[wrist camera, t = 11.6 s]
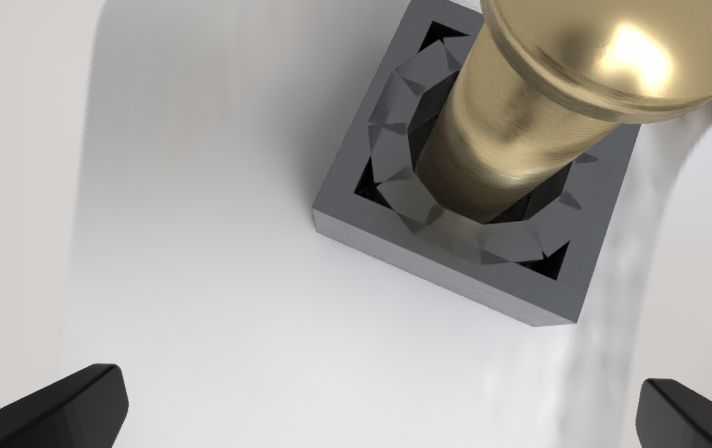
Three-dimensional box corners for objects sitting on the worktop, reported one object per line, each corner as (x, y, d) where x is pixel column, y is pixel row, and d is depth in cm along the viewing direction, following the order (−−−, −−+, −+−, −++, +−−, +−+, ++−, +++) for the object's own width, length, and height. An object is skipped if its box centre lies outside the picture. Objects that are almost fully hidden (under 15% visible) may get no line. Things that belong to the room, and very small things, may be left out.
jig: (533, 326, 19) (576, 323, 16) (315, 231, 19) (312, 208, 16) (602, 125, 21) (654, 83, 18) (403, 43, 21) (416, -13, 18)
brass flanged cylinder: (502, 262, 19) (760, 148, 8) (379, 209, 20) (450, 21, 8) (544, 148, 21) (823, -101, 9) (427, 99, 21) (551, -206, 9)
